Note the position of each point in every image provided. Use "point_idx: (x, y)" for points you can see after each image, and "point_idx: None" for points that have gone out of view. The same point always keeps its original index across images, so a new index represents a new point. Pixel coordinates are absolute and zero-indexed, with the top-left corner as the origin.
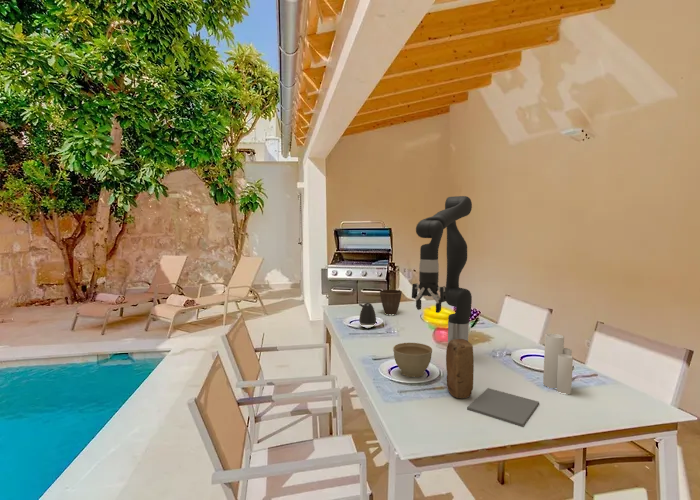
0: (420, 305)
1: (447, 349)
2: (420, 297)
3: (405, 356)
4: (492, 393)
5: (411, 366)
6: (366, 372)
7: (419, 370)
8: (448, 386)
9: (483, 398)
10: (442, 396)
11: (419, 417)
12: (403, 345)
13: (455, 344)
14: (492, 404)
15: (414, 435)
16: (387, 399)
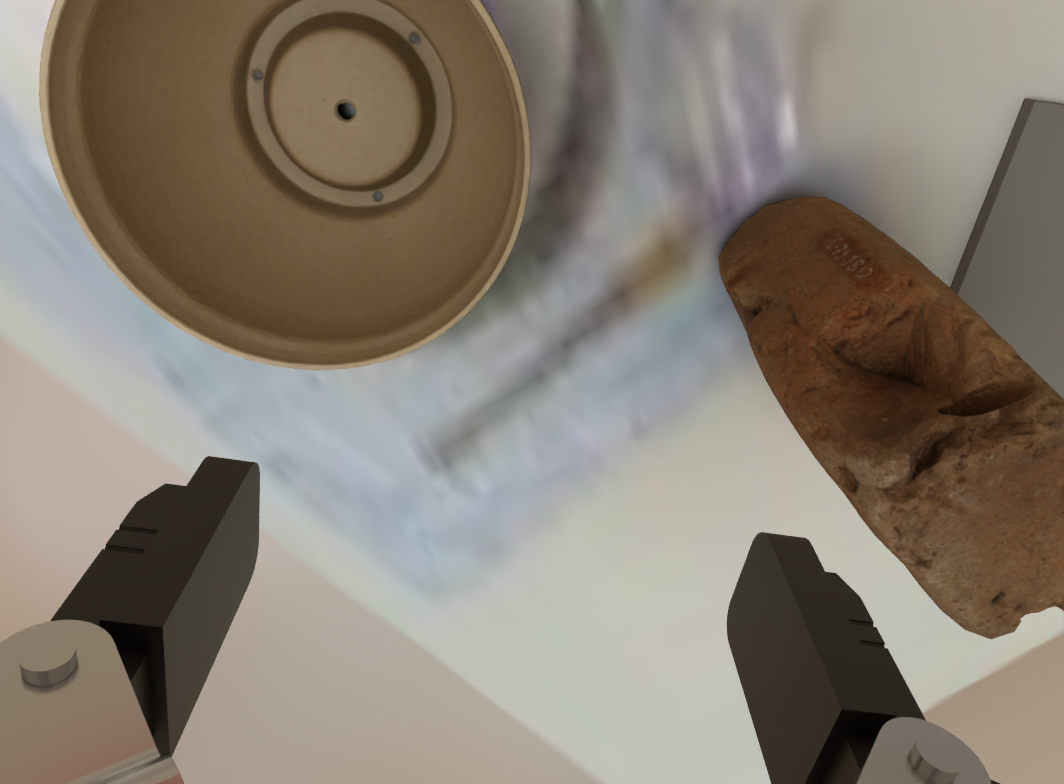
0: (224, 547)
1: (821, 465)
2: (97, 735)
3: (333, 357)
4: (1061, 192)
5: (399, 292)
6: (36, 301)
7: (455, 219)
8: (743, 316)
9: (989, 311)
10: (710, 383)
11: (660, 642)
12: (83, 5)
13: (964, 618)
14: (1043, 366)
15: (687, 754)
16: (430, 572)
